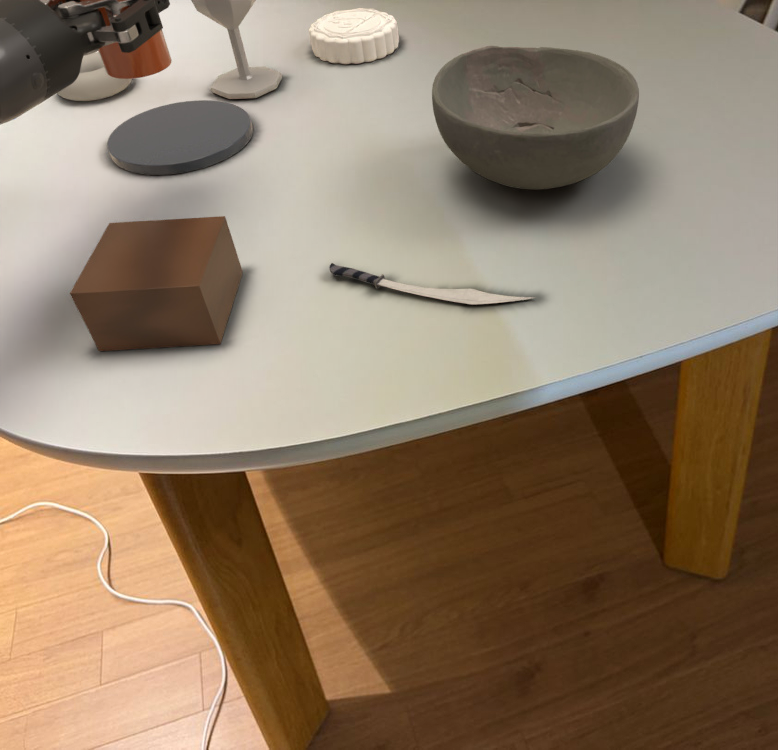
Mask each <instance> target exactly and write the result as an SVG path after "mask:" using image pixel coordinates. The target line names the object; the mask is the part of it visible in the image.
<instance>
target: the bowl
mask: <svg viewBox="0 0 778 750" xmlns="http://www.w3.org/2000/svg"><path fill="white" fill-rule="evenodd" d="M431 87H432V88H431V103H432V112H433V116H434V120H435V123H436V127H437V130H438V131H439V134H440V136H441V138H442V139H443V142H444V144H445V145H446V146H447V148H448V149H449V150H450V151H451V153H452V154H453V155H454V156H455V157H456V158H457V159H458V160H459V161H460V162H461V163H462V164H463V165H465V167H467V168H468V169H470V170H471V171H472V172H474V173H475V174H477V175H479V176H481V177H482V178H485V179H487V180H490V181H491V182H494V183H496V184H499V185H503V186H506V187H509V188H510V187H511V188H515V189H522V190H548V189H556V188H560V187H566V186H569V185H572V184H576V183H578V182H581V181H583V180H585V179H588V178H590V177H592V176H593V175H596V173H599V172H600V171H602V169H605V167H607V165H608V164H610V163H611V162H612V161H613V160H614V159H615V157H616V156H618V154H619V153H620V152H621V150H622V149H623V147H624V146H625V144H626V143H627V140H628V138H629V136H630V134H631V132H632V130H633V127H634V124H635V120H636V116H637V113H638V107H639V100H640V99H639V98H640V89H639V85H638V81H637V79H636V78H635V77H634V74H632V73H631V72H630V71H629V70H628V69H627V68H626V67H624V66H623V65H622V64H619V63H618V62H616V61H615V60H612V59H610V58H608V57H605V56H603V55H599V54H596V53H592V52H588V51H582V50H578V49H577V50H576V49H568V48H560V47H547V46H540V47H522V46H499V45H487V46H482V47H480V48H475V49H472V50H469V51H467V52H464V53H461V54H459V55H457V56H455V57H454V58H452V59H451V60H449V61H447V62H446V63H445V64H444V65H443V66H442V67H441V68H440V69H439V70H438V72H437V73H436V75H435V77H434V79H433V82H432V86H431Z"/></svg>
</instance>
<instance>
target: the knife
mask: <svg viewBox="0 0 778 750" xmlns="http://www.w3.org/2000/svg"><path fill="white" fill-rule="evenodd" d="M329 272H330V274H332V276H339V277H347V278H351V279H355V280H358V281H362V282H365V283H368V284H370V285H374V288H375V289H376V290H378V289H379V288H381V287H383V288H388V289H393V290H396V291H401V292H404V293H408V294H413V295H418V296H422V297H427V298H431V299H437V300H443V301H447V302H448V301H449V302H454V303H460V304H467V305H489V304H499V303H508V302H517V301H524V300H531V299H536V298H537V296H536V297H534V296H532V297H531V296H527V297H526V296H513V295H504V294H498V293H497V294H495V293H491V292H485V291H481V290H478V289H475V288H472V287H471V288H470V287H469V288H436V287H425V286H419V285H413V284H408V283H402V282H397V281H394V280H390V279H387V278H386V277H385V274H381V275H380V276H379V275H375V274H372V273H369V272H366V271H362V270H359V269H355V268H352V267H347V266H342V265H337V264H334V263H333V262H331V263H330V264H329Z"/></svg>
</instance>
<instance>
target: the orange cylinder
mask: <svg viewBox="0 0 778 750" xmlns="http://www.w3.org/2000/svg"><path fill="white" fill-rule="evenodd" d="M82 1H86V0H79V2H82ZM127 8H129V6H126V7H123V8H121V10H120V12H121V13H122V12H123V11H125V10H126V9H127ZM98 10H100V12H101V13H102V15H103V18H104V21H105V24H106V26H110V25H111V24H110V21H109V18H108V16H107V13H106V10H105V8H104V7H102V8H99V9H98ZM97 52H99V55H100V57H101V60H102V63H103V65H104V68H105V71H106V73H107V74H108V75H109V76H111V77H114V78H119V79H132V80H133V79H140V78H145V77H149V76H152V75H156V74H159V73H161V72H163V71H165V70H167V68H168V67H169V68H170V66H171V65H172V62H173V61H172V57H171V53H170V51H169V48H168V44H167V41H166V38H165V35H164V31H163V29H161V30H160V31H159V32H158V33H156V34H155V35H154V36H152V37H151V38H150V39H149V40H147V41H146V42H145V43H144V44H142V45H141V46H140V47H139V48H137V49H136V50H135V51H132V52H130V53H124V52H121V49H120V46H119V44H118V43H117V42H115V43H112V44H109V45H106V46H103V47H101V48H100V49H99V50H98V51H97Z"/></svg>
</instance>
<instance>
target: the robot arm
mask: <svg viewBox="0 0 778 750" xmlns="http://www.w3.org/2000/svg"><path fill="white" fill-rule="evenodd" d="M126 6H129V8H127V9H126V10H125V11H123V12H122V13H121V12H120V10H121V8H123V7H126ZM170 6H171V2H170V0H86V1H82V2H79V0H0V125H3V124H6V123H8V122H10V121H13V120H15V119H17V118H20V117H21V116H22V115H24V114H26V113H28V112H29V111H30V110H32V109H34V108H35V107H37V106H39V105H40V104H42V103H43V102H45V101H47V100H48V99H50V98H52V97H54V96H55V95H57V93H58V92H60V91H61V90H63V89H64V88H66V87H68V86H69V85H71V84H72V83H74V82H75V80H76V79H77V78H78V75H79V73H80V69H81V64H82V59H83V56H85V55H89V54H92V53H95V52H98V50H99V49H100V48H101V47H103V46H106V45H109V44H112V43H115V42H117V43H118V44H119V46H120V49H121V52H124V53H130V52H132V51H135V50H136V49H137V48H139V47H140V46H141V45H142V44H144V43H145V42H146V41H147V40H149V39H150V38H151V37H152V36H154V35H155V34H156V33H158V32H159V31H160V30H161V29H162V30H163V29H164V26H163V22H162V20H161V17H160V13H162V12H164V11H165V10H167V9H169V7H170ZM102 7H104V8H105V10H106V13H107V16H108V18H109V21H110V24H111V25H110V26H106V24H105V21H104V18H103V15H102V13H101V12H100V10H98V9H99V8H102Z"/></svg>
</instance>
